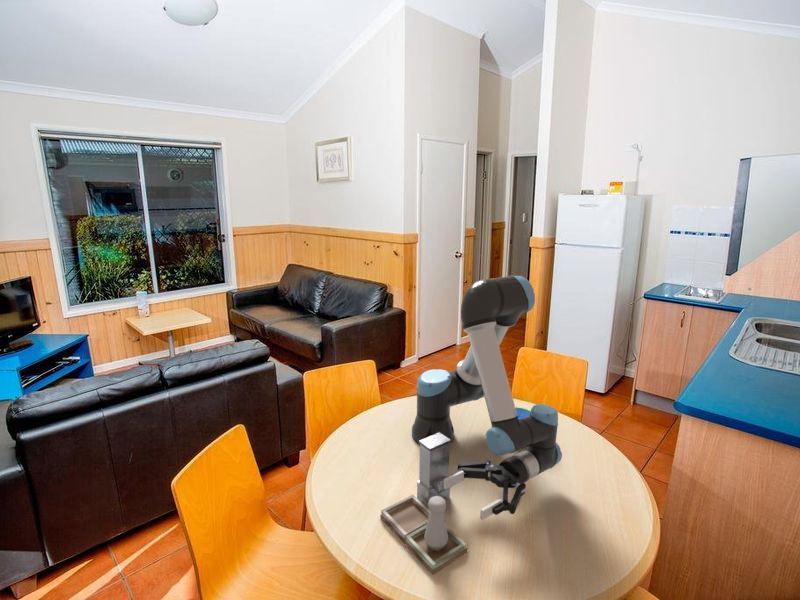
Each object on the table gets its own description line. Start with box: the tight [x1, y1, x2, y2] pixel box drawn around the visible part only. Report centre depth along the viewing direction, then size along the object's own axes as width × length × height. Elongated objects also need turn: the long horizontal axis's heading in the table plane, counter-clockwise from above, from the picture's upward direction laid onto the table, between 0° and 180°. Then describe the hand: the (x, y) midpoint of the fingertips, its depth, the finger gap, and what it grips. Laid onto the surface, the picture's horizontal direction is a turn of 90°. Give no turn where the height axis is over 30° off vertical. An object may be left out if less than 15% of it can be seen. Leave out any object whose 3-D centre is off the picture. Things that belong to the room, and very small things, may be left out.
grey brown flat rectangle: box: [380, 494, 469, 575], centre depth 113 cm, size 22×11×2 cm, turn 36°
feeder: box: [416, 432, 453, 509], centre depth 122 cm, size 8×8×19 cm
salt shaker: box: [424, 496, 448, 552], centre depth 107 cm, size 6×6×13 cm
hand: (462, 498), depth 111 cm, fingers open, 13 cm apart
